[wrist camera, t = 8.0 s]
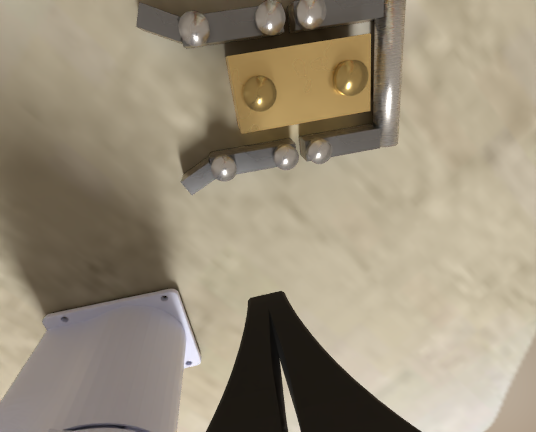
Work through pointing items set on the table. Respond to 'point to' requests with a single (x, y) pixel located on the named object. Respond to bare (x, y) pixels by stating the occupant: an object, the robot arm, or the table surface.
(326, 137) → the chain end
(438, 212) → the table surface
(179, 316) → the robot arm
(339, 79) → the master link
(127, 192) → the table surface
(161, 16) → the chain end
